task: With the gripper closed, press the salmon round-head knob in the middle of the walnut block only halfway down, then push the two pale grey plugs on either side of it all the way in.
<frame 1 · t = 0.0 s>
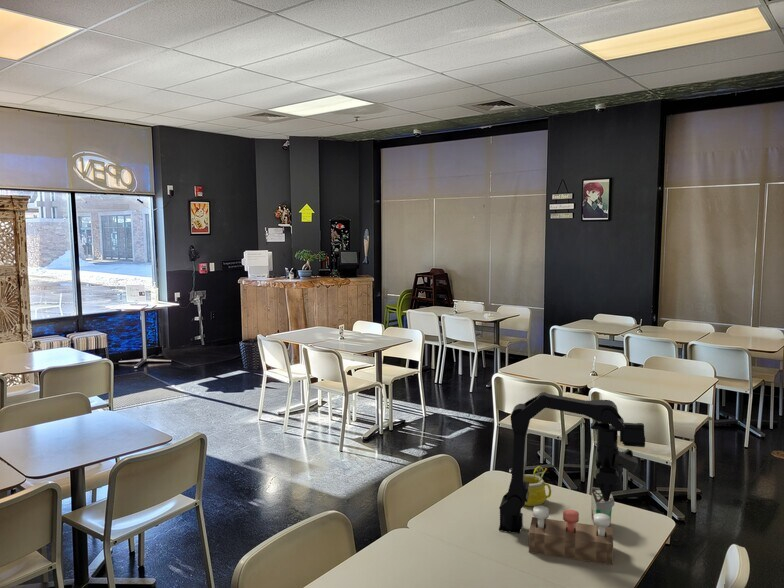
hand: (606, 494, 174), 15 cm above the table, tool pointing down, fingers open, 9 cm apart
right grey plug: (601, 529, 168), point 7 cm above the table, slide at 0.0 cm
left grey plug: (540, 521, 174), point 7 cm above the table, slide at 0.0 cm
food container: (603, 526, 185), on the table
walnut plug block: (570, 549, 172), on the table
mug: (532, 502, 203), on the table
salmon round-head knob: (570, 525, 171), point 7 cm above the table, slide at 0.0 cm
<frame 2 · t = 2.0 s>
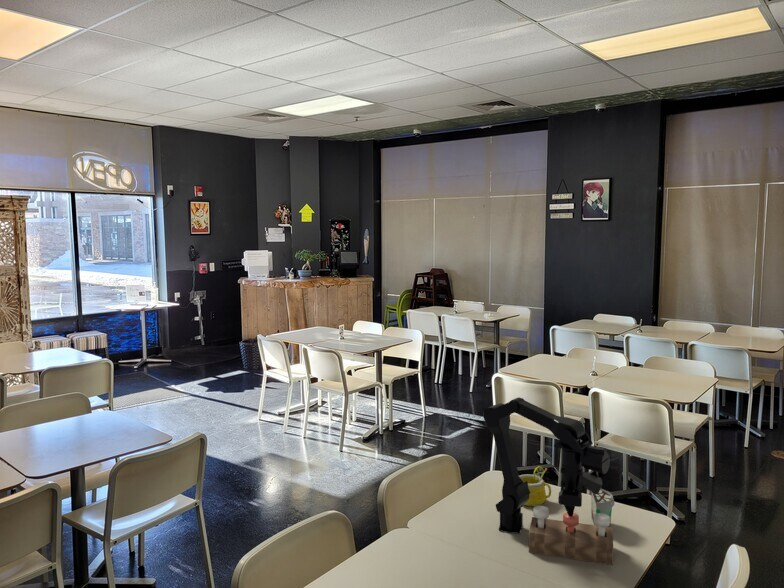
hand: (570, 515, 171), 10 cm above the table, tool pointing down, fingers closed, pressing on salmon round-head knob
salmon round-head knob: (570, 528, 171), point 6 cm above the table, slide at 0.9 cm, touching gripper
everything else where it was.
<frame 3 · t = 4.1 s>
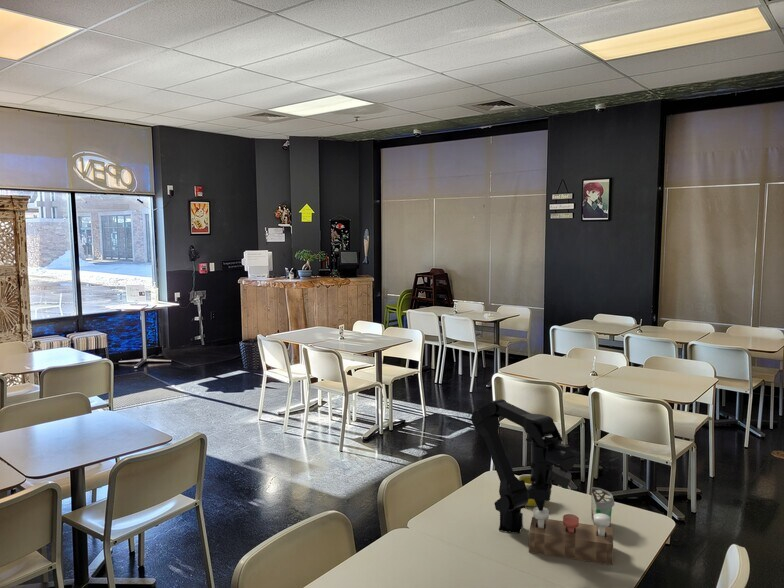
hand: (540, 510, 173), 11 cm above the table, tool pointing down, fingers closed, pressing on left grey plug
left grey plug: (540, 522, 174), point 7 cm above the table, slide at 0.3 cm, touching gripper
salmon round-head knob: (570, 530, 171), point 6 cm above the table, slide at 1.4 cm
everything else where it was.
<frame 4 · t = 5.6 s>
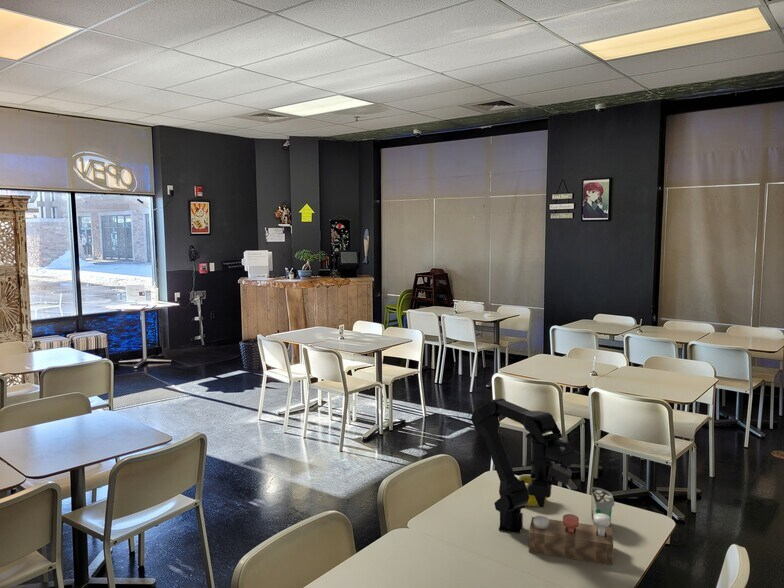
hand: (541, 507, 173), 12 cm above the table, tool pointing down, fingers closed
left grey plug: (540, 531, 174), point 4 cm above the table, slide at 3.1 cm
everything else where it was.
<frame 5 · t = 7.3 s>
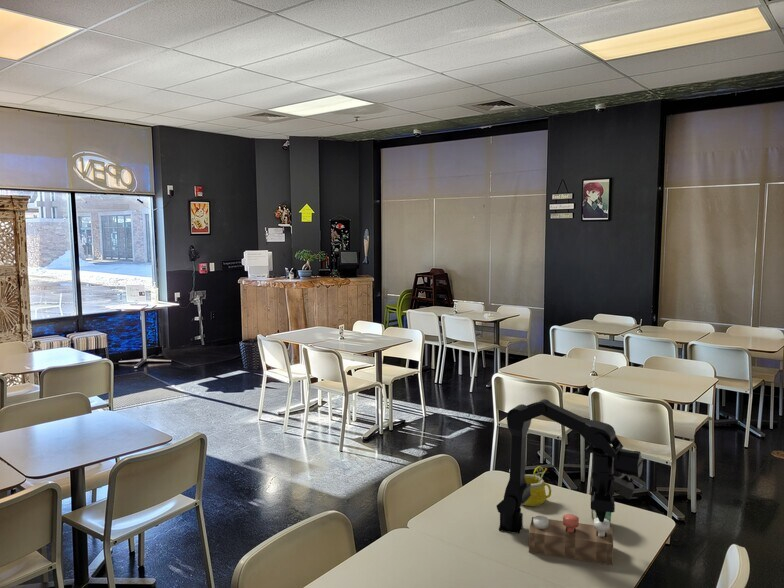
hand: (601, 521, 168), 10 cm above the table, tool pointing down, fingers closed, pressing on right grey plug
right grey plug: (601, 533, 168), point 6 cm above the table, slide at 1.3 cm, touching gripper
everything else where it was.
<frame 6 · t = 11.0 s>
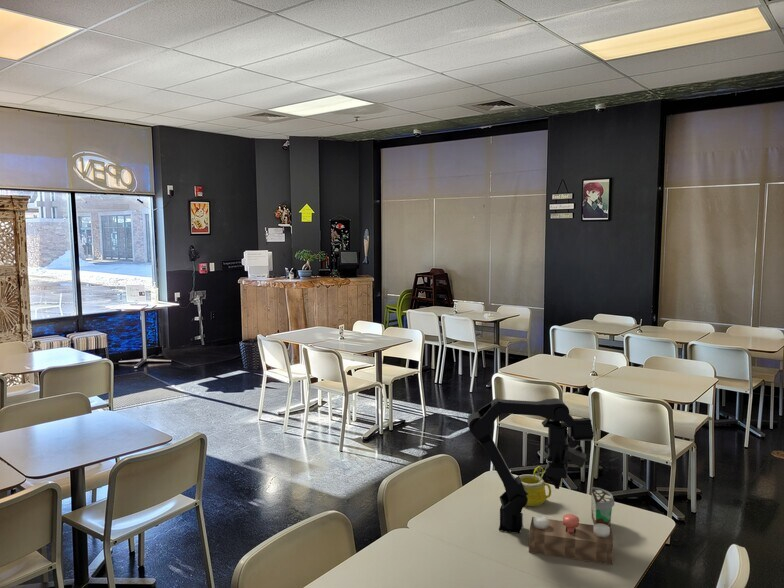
hand: (557, 488, 183), 13 cm above the table, tool pointing down, fingers closed
right grey plug: (601, 539, 168), point 4 cm above the table, slide at 3.1 cm
everything else where it was.
at the end: salmon round-head knob slide at 1.4 cm; left grey plug slide at 3.1 cm; right grey plug slide at 3.1 cm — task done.
